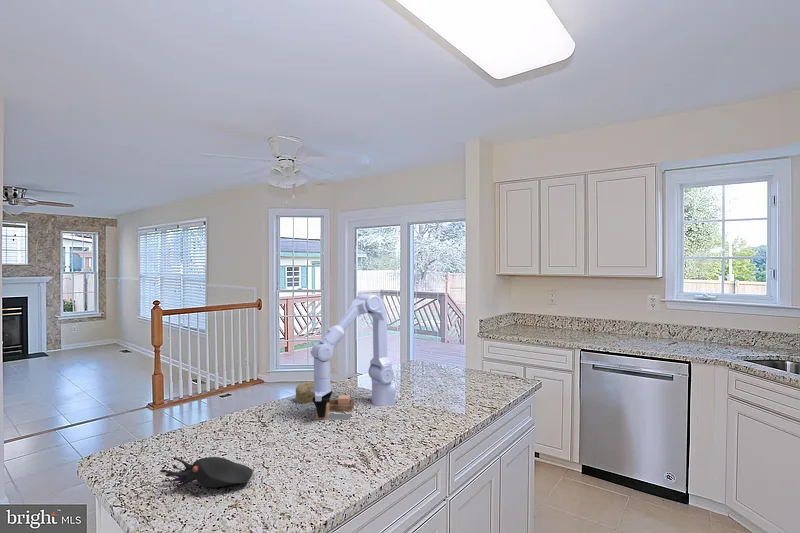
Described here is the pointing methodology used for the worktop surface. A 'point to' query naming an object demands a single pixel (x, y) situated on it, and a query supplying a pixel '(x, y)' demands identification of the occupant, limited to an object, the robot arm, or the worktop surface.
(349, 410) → the walnut bin
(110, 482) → the worktop surface
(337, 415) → the slate board
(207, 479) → the toy
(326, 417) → the tan cube
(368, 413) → the worktop surface
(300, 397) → the coral
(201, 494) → the worktop surface
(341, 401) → the peach cube
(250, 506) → the worktop surface
